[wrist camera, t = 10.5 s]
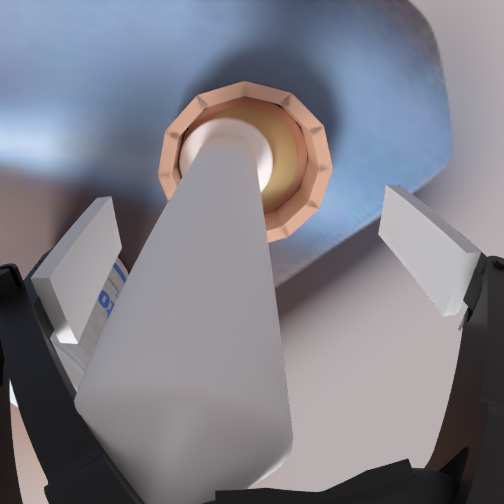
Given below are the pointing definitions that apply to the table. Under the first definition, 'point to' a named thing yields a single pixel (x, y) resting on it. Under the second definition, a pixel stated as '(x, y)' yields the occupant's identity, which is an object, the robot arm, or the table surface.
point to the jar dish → (281, 143)
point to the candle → (197, 335)
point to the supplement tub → (89, 329)
